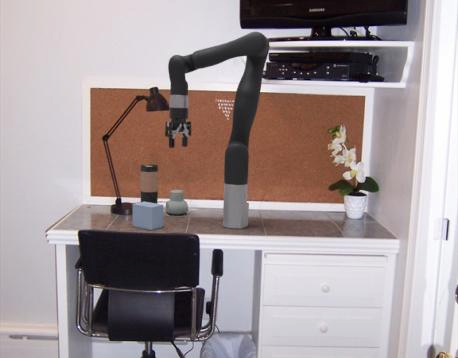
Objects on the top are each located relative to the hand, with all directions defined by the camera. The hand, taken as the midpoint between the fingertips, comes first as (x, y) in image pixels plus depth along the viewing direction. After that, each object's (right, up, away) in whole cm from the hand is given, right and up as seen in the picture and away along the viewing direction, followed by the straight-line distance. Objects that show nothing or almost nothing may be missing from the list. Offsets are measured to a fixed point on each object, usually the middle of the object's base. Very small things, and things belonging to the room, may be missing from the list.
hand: (178, 147), depth 206 cm
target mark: (-11, -31, -8) cm, 34 cm away
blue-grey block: (-11, -31, -8) cm, 34 cm away
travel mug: (-15, -27, +23) cm, 38 cm away
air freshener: (-2, -28, +17) cm, 33 cm away
